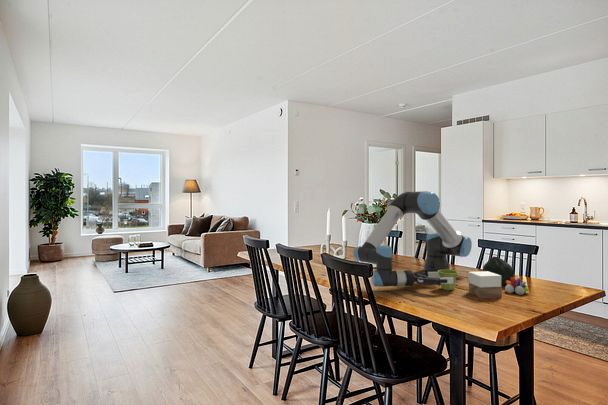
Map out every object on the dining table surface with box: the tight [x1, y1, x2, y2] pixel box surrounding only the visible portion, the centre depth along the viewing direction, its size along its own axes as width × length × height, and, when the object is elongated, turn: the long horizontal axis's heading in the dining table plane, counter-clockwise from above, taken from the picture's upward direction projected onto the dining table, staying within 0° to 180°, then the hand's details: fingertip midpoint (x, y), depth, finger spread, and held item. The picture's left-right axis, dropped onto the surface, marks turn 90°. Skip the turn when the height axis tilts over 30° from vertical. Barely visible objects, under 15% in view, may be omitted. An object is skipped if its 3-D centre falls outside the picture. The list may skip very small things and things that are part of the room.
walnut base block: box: [468, 283, 503, 299], centre depth 175 cm, size 10×10×5 cm
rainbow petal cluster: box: [504, 276, 529, 296], centre depth 179 cm, size 8×10×7 cm
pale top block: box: [467, 271, 502, 287], centre depth 175 cm, size 10×10×5 cm
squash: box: [482, 256, 515, 286], centre depth 197 cm, size 14×15×15 cm
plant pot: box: [438, 269, 459, 291], centre depth 186 cm, size 9×9×9 cm
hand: (446, 277), depth 185 cm, fingers open, 13 cm apart
